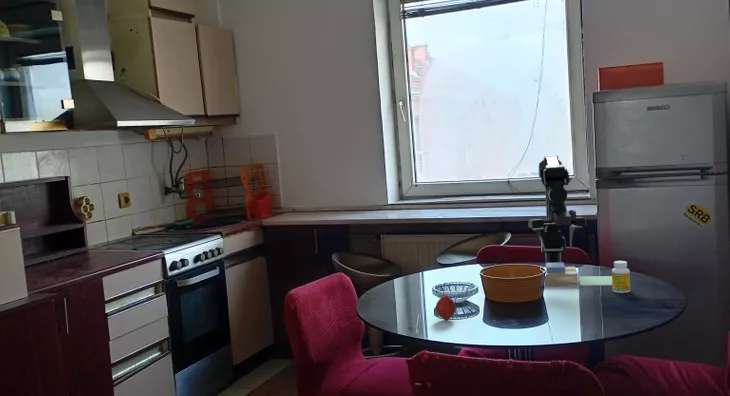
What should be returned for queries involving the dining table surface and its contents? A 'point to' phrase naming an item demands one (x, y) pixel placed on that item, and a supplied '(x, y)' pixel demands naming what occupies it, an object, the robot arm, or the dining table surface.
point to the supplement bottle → (620, 277)
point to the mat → (595, 280)
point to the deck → (562, 277)
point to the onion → (445, 307)
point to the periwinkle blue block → (555, 267)
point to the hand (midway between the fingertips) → (558, 247)
